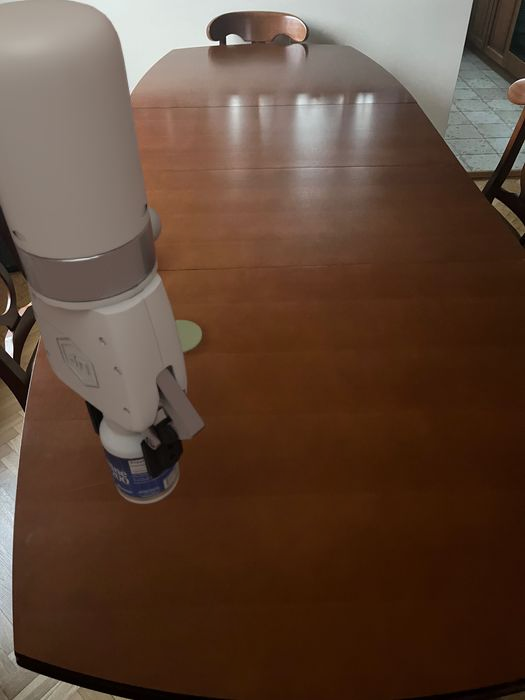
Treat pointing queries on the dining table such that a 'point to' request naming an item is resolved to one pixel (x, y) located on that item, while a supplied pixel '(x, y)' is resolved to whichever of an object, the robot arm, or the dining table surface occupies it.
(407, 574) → the dining table surface
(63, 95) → the robot arm
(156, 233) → the lollipop
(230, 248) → the dining table surface
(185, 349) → the coaster
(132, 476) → the pill bottle
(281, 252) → the dining table surface
